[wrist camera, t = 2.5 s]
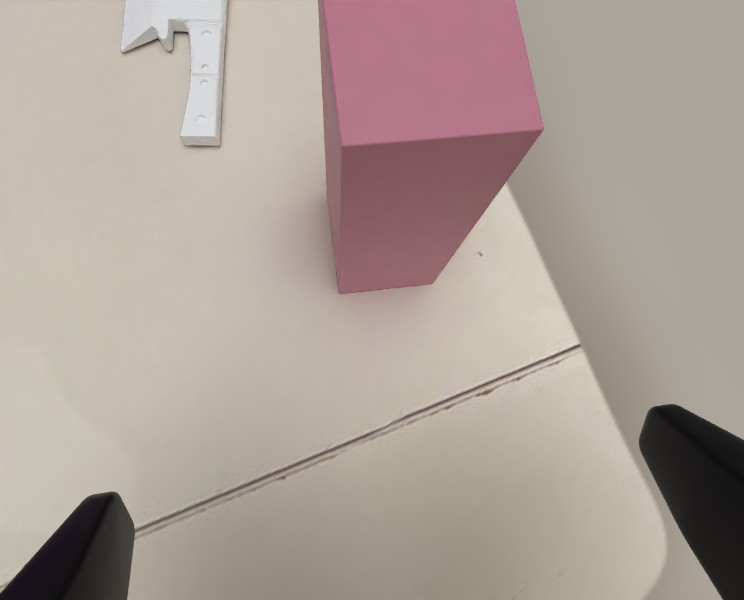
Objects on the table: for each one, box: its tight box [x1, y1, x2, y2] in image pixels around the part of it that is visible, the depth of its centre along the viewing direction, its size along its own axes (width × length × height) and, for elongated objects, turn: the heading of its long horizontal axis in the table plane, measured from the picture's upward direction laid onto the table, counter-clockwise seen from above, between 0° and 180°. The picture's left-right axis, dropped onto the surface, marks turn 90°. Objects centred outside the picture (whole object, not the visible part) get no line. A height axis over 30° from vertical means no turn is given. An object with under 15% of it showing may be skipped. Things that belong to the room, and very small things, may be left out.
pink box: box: [318, 0, 544, 294], centre depth 17 cm, size 5×4×13 cm
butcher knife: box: [121, 0, 228, 146], centre depth 25 cm, size 5×15×1 cm, turn 1°
